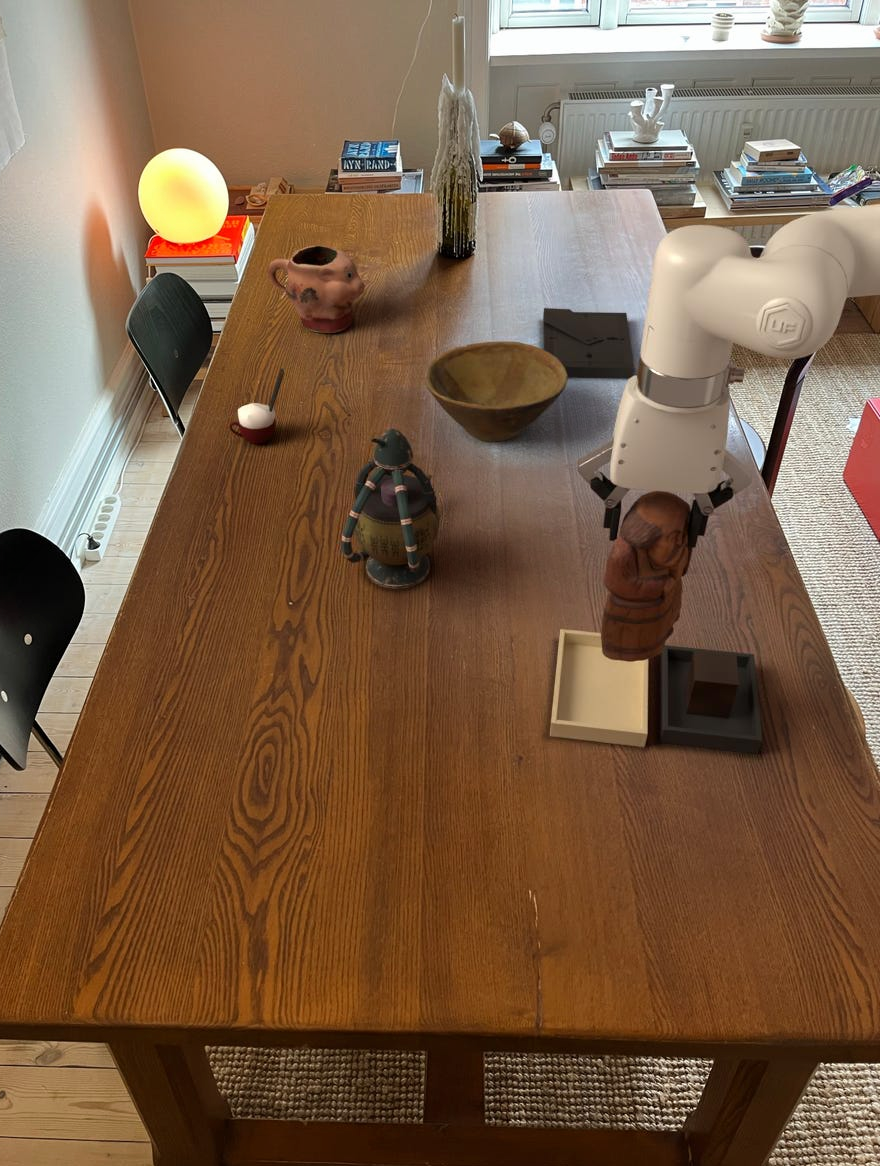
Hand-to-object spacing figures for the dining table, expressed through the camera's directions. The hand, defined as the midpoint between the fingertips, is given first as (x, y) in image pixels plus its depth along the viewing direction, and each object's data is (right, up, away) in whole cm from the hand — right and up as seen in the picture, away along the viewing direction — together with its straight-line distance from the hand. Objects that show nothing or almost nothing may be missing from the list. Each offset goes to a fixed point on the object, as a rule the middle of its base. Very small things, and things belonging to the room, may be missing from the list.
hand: (652, 534), depth 100 cm
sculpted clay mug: (-41, +52, +97) cm, 117 cm away
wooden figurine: (+1, -10, +10) cm, 14 cm away
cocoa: (-48, +23, +68) cm, 87 cm away
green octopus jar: (-25, +2, +46) cm, 52 cm away
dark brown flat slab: (+9, +43, +86) cm, 97 cm away
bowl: (-9, +25, +69) cm, 74 cm away
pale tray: (0, -17, +25) cm, 30 cm away
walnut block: (+12, -18, +23) cm, 32 cm away
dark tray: (+13, -18, +23) cm, 32 cm away
